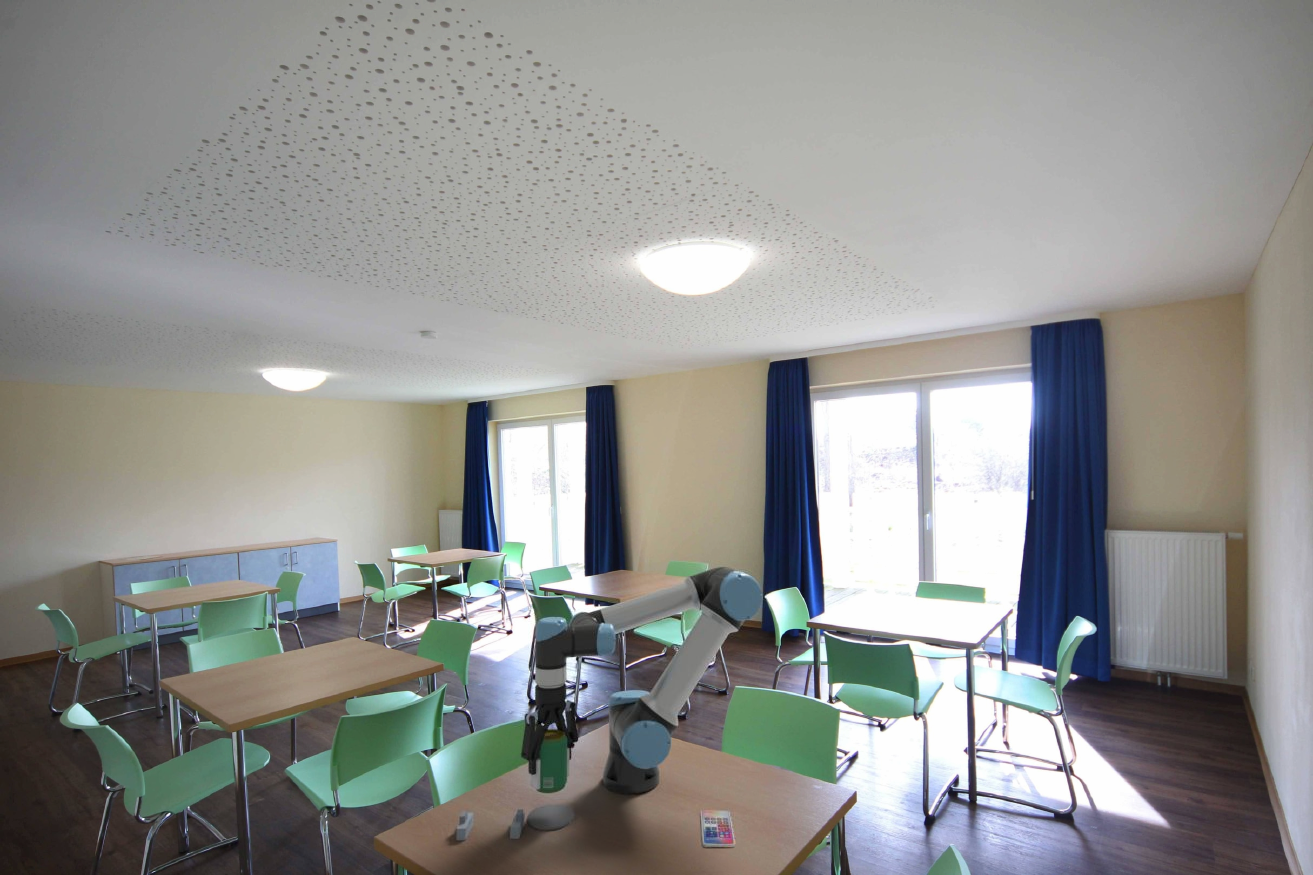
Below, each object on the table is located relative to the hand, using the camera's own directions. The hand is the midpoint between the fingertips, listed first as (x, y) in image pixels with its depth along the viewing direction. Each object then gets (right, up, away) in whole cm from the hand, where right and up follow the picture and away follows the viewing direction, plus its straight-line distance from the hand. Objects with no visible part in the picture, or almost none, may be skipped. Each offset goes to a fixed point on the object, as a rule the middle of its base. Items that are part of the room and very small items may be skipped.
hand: (550, 780), depth 152 cm
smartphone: (+39, -8, -7) cm, 41 cm away
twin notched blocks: (-13, -8, -6) cm, 16 cm away
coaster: (0, -9, -1) cm, 9 cm away
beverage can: (0, -1, 0) cm, 1 cm away
